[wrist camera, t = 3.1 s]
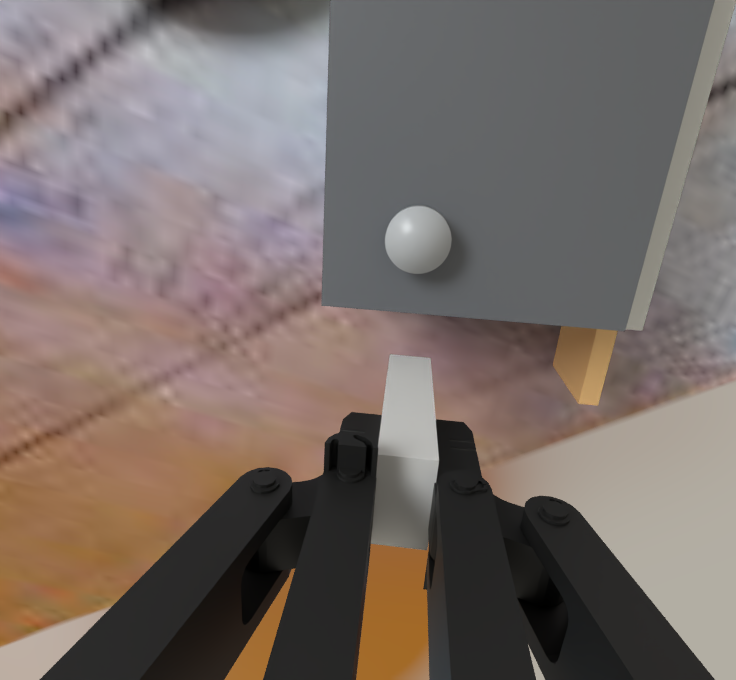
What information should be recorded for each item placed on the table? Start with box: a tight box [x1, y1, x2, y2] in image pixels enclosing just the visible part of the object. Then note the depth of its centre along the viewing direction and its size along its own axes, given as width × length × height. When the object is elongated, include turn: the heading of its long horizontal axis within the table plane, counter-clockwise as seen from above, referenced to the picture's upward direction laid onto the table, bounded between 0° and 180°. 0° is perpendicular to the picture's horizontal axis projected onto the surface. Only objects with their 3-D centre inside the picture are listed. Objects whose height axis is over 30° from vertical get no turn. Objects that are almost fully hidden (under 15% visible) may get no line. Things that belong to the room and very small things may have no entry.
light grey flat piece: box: [553, 0, 736, 406], centre depth 19 cm, size 16×1×7 cm, turn 176°
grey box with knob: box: [322, 0, 715, 331], centre depth 17 cm, size 13×10×9 cm
